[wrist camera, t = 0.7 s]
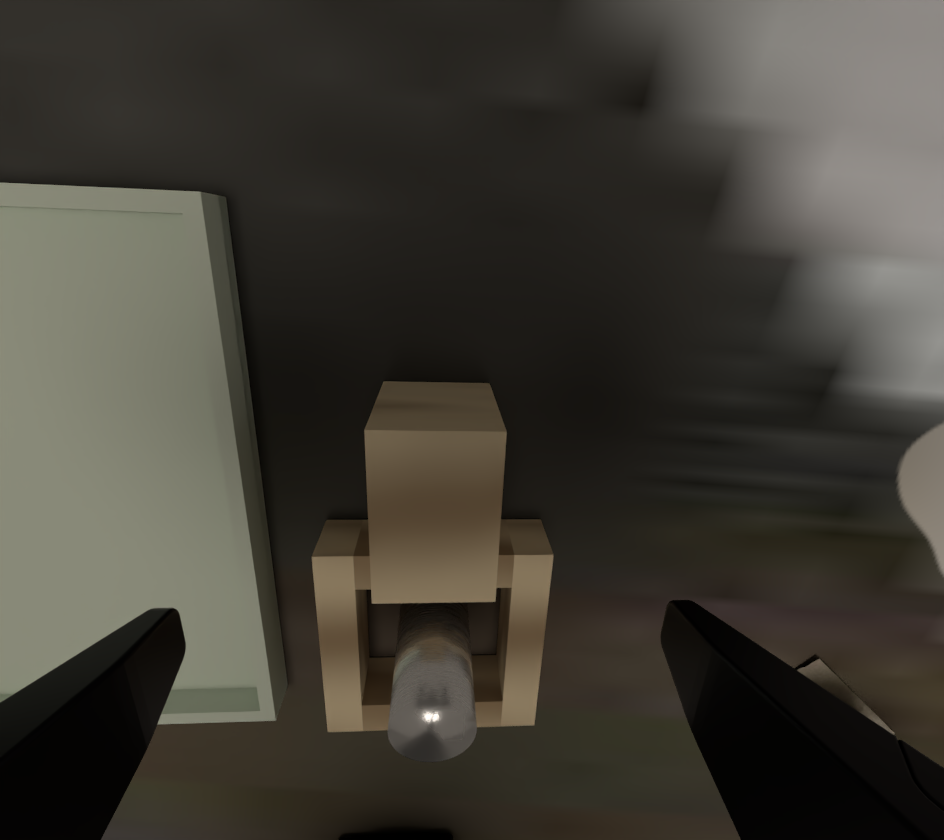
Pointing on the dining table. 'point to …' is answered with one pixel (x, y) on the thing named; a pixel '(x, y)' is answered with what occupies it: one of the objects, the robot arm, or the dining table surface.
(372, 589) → the wooden block frame
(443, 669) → the cylinder
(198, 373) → the tray
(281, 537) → the dining table surface
